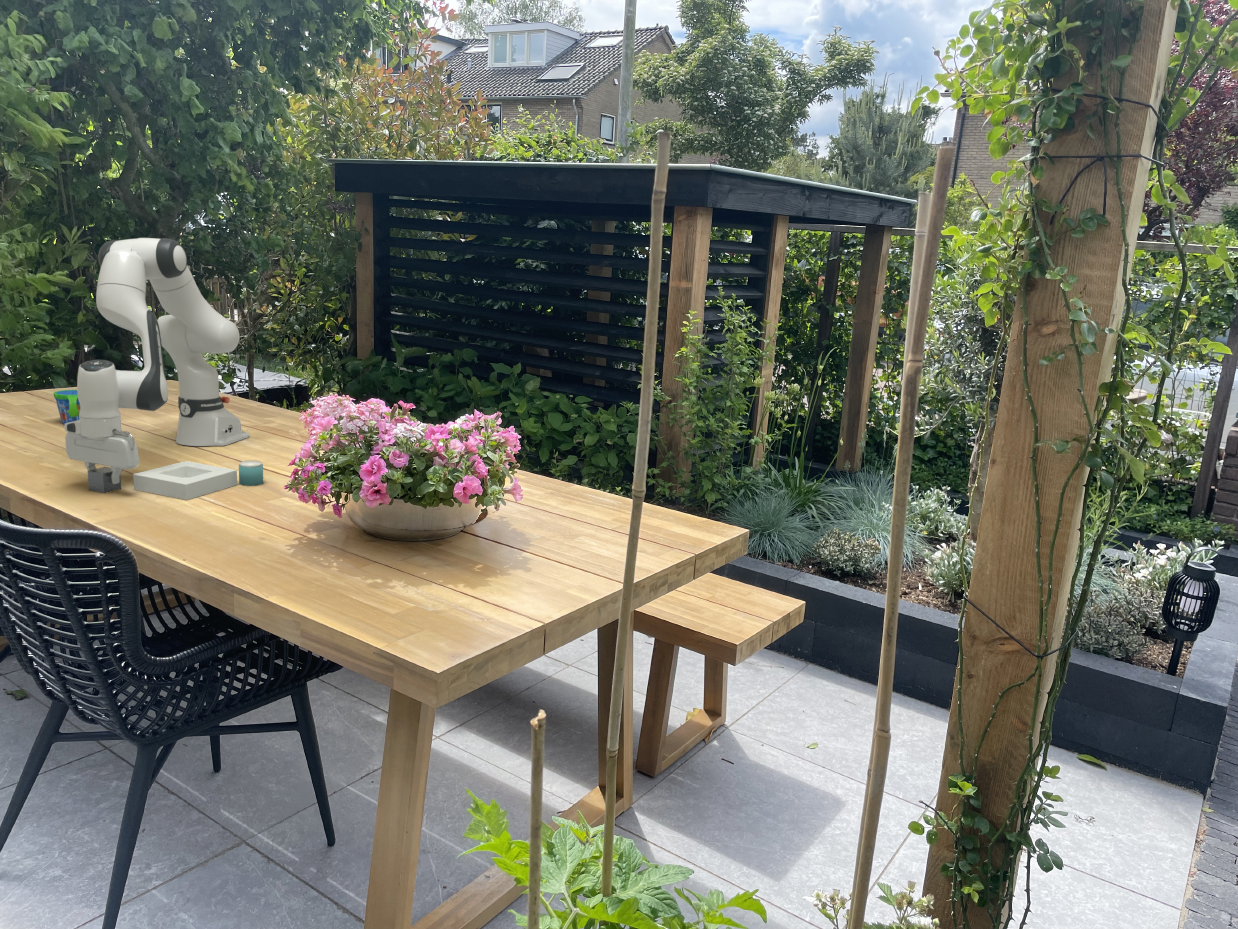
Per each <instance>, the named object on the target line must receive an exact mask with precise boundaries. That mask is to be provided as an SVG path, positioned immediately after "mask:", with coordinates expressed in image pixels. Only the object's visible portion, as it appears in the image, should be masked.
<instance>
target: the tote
mask: <svg viewBox="0 0 1238 929" xmlns="http://www.w3.org/2000/svg"><path fill="white" fill-rule="evenodd" d="M132 481H133V482H132V483H133V484H132V485H133V490H135V491H140V492H144V493H148V494H154V495H160V496H164V497H170V498H173V499H180V500H184V501H189V500H193V499H196V498H199V497H201V496H204V495H205V496H206V495H208V494H212V493H215V492H218V491H222V490H225V489H228V488H231V487H235V486H237V485H238V471H237V470H236V469H232V468H226V467H221V466H215V465H210V464H205V463H200V462H199V463H198V462H195V461H189V460H188V461H187V460H185V461H181V462H176V463H172V464H168V465H164V466H161V467H156V468H152V469H149V470H144V471H140V472H136V473H132Z"/></svg>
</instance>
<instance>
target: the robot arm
mask: <svg viewBox="0 0 1238 929" xmlns="http://www.w3.org/2000/svg"><path fill="white" fill-rule="evenodd" d="M97 256H98V257H97V258H98V265H99V267H100V270H99V274H98V279H97V284H96V294H95V296H96V298H95V300H96V301H95V302H96V308H97V310H98V312H99V313H100V315H101V316H102V317H103V318H105V320H107V321H108V322H109V323H112V324H113V325H116V326H117V327H119V328H122V329H125V330H127V331H129V332H132V333H134V334H136V335H138V337H140V340H141V346H142V356H143V365H144V367H143V369H142V370H119V369H116V366H115V364H114V363H113V362H112V361H109V360H106V359H92V360H87V361H84V362H82V363H80V364H79V366H78V371H77V381H76V382H77V383H76V384H77V385H76V387H77V389H76V390H77V393H78V400H79V403H80V412H79V420H77V421H73V422H69V423H66V424H63V425H64V426H63V427H64V428H63V429H64V431H65V432H66V433H65V451H66V455H67V456H68V458H69V460H75V461H80V462H84V467H85V469H86V470H87V472H88V471H89V470H94V469H97V468H96V465H100V466H104V467H109V468H111V470H112V471H113V473H112V476H109V482H110V483H113V484H117V483H119V482H120V480H119V476H120V475H122V472H123V470H125V471H126V470H132V469H136V468H137V467H138V466H139V464H140V458H139V451H138V450H139V449H138V445H137V443H136V441H135V440H136V439H135V437H134V436H133V435H132V434H131V432H129V431H124V430H122V418H121V417H122V416H121V415H122V414H121V411H120V409H131V410H132V409H133V410H136V409H137V410H141V411H148V412H149V411H150V412H155V411H157V410H159V409H160V408H162V407H163V406H164V405H165V404H166V403H168V398H169V386H168V383H167V378H166V372H165V366H164V365H165V363H164V355H163V349H165V351H166V352H167V353H168V354H169V356H170V357H171V359H172V361H173V364H174V366H175V369H176V372H177V379H178V380H177V381H178V388H179V389H178V390H179V396H178V397H177V398H178V399H177V404H178V406H177V408H178V410H179V413H178V424H177V434H175V435H176V436H175V438H176V439H175V442H176V444H178V445H183V446H190V447H210V446H211V447H212V446H216V447H217V446H218V447H220V446H222V447H223V446H228V445H230V444H233V443H236V442H239V441H242V440H245V439H248V438H250V437H251V435H250V433H249V432H247V431H243V430H242V422H241V420H240V418H239V417H238V416H236V415H235V414H233V413H232V412H231V411H229V410H228V409H226V408H225V405H224V404H230V402H231V400H230V399H231V398H230V397H229V396H220V387H219V386H220V384H219V382H220V381H219V373H218V371H217V369H216V368H215V367H214V366H213V365H212V364H210V363H208V362H207V361H206V359H205V357H204V356H203V355H204V353H205V354H214V355H217V354H227V353H228V354H229V353H231V352H233V351H235V349H236V348H237V347H238V345H239V342H240V332H239V329H238V327H237V324H235V323H234V322H233V321H231V320H229V319H228V318H226V317H224V316H223V315H222V314H220V313H219V312H218V311H216V309H215V308H213V306H211V304H210V303H209V302H208V301H207V300H206V299H205V298H204V296H203V295H202V293H201V290H200V289H199V287H198V285H197V284H196V281H195V278H194V277H193V274H192V272H191V270H190V268H189V266H188V257H187V253H186V250H185V248H184V247H183V245H181V244H180V242H178V241H177V240H175V239H171V238H166V237H163V238H162V237H161V238H156V237H155V238H153V237H151V238H150V237H138V238H128V239H122V240H121V239H120V240H119V239H111V240H109V241H106V242H104V243H103V244H102V245H101V247H100V248H99V251H98V255H97ZM148 280H149V283H150V284H151V287H152V288H153V291H154V292H155V295H156V297H157V298H158V301H159V302H160V305H161V307H162V309H163V310H164V311H165V312H166V313H168V314H166V315H162V316H160V317H159V318H158V319H157V316H156V314H155V313H154V312H153V311H150V309H149V308H148V306H147V305H148V304H147V302H146V293H147V281H148Z"/></svg>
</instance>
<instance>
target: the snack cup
mask: <svg viewBox="0 0 1238 929" xmlns="http://www.w3.org/2000/svg"><path fill="white" fill-rule="evenodd" d="M53 397H54V399H55V401H56V406H57V410H58V413H59V414H58V415H59V418H60V420H61V423H63V425H65V424H66V423H69V422H73V421H77V420H79V412H80V403H79V400H78V393H77V389H65V390H62V389H61V390H57V391H54V392H53Z"/></svg>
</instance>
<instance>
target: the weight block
mask: <svg viewBox="0 0 1238 929" xmlns="http://www.w3.org/2000/svg"><path fill="white" fill-rule="evenodd" d="M112 473H113V471H112V470H111V467H110V466H103V467H98V468H96V469H94V470H89V471H88V470H87V481H88V482H87V483H88V491H90V492H94V493H95V492H96V493H100V494H107V492H108V493H110V491H111V492H114V490H115V491H118V490H122V478H121V477H122V476H121V475H122V474H120V476H119V480H120V482H119V483H117V484H113V483H110V482H109V476H112Z"/></svg>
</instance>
